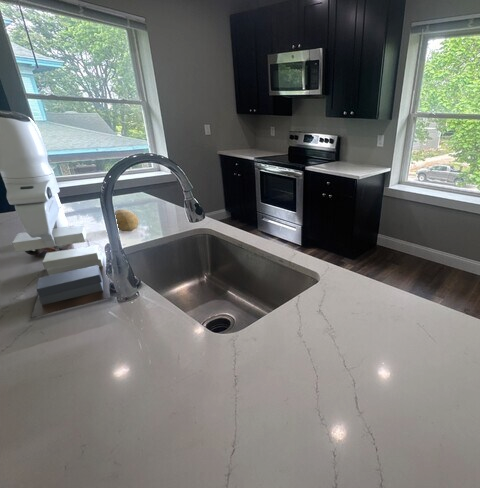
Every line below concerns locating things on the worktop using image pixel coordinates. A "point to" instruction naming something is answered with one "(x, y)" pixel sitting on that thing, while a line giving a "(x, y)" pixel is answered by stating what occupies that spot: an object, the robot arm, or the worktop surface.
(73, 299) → the shallow tray
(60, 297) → the grey stack
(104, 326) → the worktop surface
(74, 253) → the white stack
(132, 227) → the potato
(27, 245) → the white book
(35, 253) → the pottery mug
